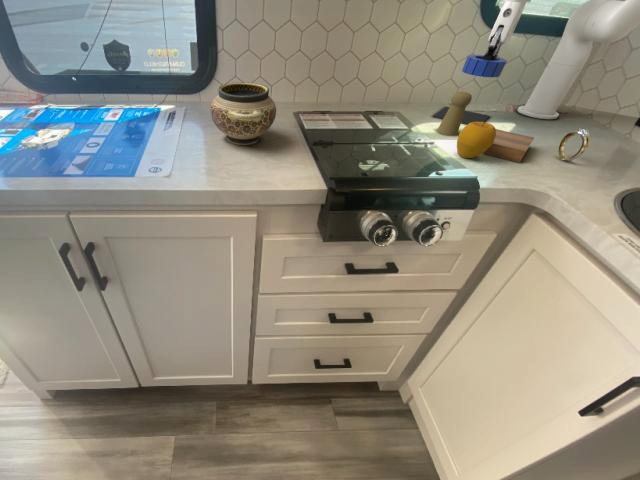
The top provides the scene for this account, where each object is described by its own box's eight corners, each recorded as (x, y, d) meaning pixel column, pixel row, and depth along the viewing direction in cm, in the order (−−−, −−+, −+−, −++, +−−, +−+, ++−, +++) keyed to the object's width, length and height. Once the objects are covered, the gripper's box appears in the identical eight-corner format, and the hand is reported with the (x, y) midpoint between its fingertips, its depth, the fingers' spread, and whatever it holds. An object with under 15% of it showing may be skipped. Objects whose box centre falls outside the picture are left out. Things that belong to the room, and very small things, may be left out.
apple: (471, 165, 90) (490, 130, 84) (443, 154, 95) (458, 120, 89) (490, 159, 94) (508, 124, 87) (461, 148, 99) (477, 115, 92)
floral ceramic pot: (220, 133, 109) (206, 80, 99) (275, 119, 107) (267, 63, 97) (219, 166, 92) (202, 106, 82) (284, 150, 90) (275, 86, 79)
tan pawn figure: (452, 137, 105) (470, 96, 98) (433, 131, 109) (449, 91, 101) (460, 132, 108) (478, 93, 101) (442, 127, 111) (458, 88, 104)
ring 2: (577, 165, 92) (600, 134, 87) (565, 165, 92) (587, 133, 87) (560, 155, 97) (581, 124, 92) (549, 154, 97) (569, 124, 92)
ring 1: (466, 67, 116) (472, 53, 113) (502, 73, 112) (509, 58, 109) (458, 72, 110) (464, 57, 107) (495, 79, 105) (503, 63, 102)
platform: (476, 136, 107) (481, 125, 105) (527, 148, 101) (534, 137, 98) (464, 148, 99) (469, 137, 97) (519, 162, 93) (526, 151, 91)
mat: (445, 107, 128) (445, 106, 127) (489, 116, 121) (489, 115, 121) (432, 116, 119) (432, 115, 119) (478, 127, 113) (479, 126, 112)
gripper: (528, -4, 94) (491, 75, 107) (536, -5, 103) (501, 67, 116) (498, -6, 97) (466, 71, 110) (509, -7, 106) (478, 64, 119)
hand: (484, 68), depth 113 cm, fingers closed on ring 1, 2 cm apart
